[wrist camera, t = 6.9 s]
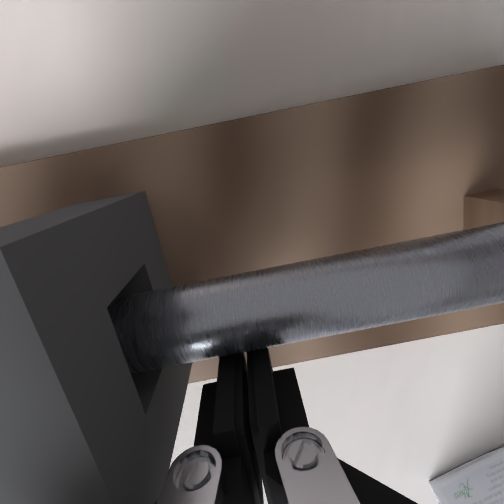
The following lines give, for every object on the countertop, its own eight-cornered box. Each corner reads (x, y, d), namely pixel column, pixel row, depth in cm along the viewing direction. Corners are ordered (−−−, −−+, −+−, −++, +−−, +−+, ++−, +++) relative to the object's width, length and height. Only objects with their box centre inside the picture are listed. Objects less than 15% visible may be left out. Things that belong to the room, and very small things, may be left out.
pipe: (580, 190, 11) (688, 201, 8) (572, 265, 12) (668, 296, 9) (-109, 325, 11) (-213, 377, 9) (-71, 388, 12) (-157, 453, 9)
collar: (144, 190, 13) (-1, 247, 5) (193, 358, 15) (145, 574, 7) (72, 204, 13) (-185, 284, 5) (131, 370, 15) (18, 598, 7)
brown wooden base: (505, 66, 14) (724, -5, 8) (496, 312, 17) (640, 401, 11) (-77, 185, 14) (-319, 209, 8) (29, 401, 18) (-83, 534, 12)
